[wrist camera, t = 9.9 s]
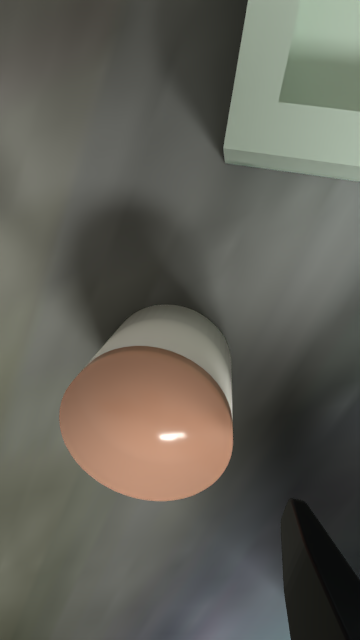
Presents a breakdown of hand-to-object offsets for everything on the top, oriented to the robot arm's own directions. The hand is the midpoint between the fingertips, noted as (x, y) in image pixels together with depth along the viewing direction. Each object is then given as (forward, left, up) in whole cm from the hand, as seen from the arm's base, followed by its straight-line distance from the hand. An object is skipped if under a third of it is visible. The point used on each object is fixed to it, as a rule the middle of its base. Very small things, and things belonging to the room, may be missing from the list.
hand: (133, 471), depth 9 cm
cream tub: (0, 0, -7) cm, 7 cm away
